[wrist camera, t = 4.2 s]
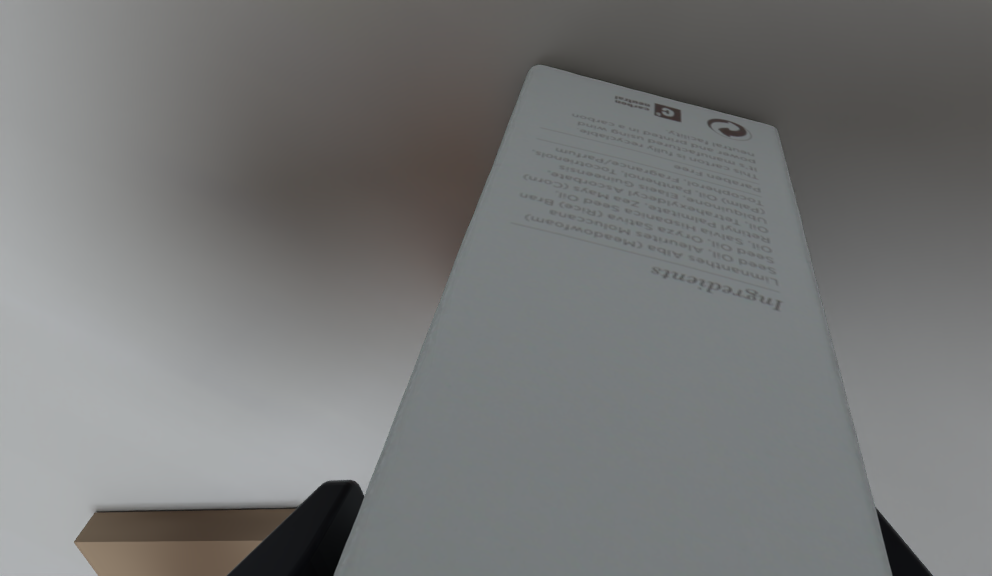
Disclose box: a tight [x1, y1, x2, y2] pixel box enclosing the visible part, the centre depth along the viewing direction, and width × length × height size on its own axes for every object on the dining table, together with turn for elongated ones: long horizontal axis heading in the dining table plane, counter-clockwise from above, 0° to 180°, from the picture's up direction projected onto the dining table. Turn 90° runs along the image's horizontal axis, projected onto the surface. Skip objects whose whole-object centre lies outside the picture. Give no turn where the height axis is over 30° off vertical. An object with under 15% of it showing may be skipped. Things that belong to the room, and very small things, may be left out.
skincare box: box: [334, 65, 892, 576], centre depth 10 cm, size 6×4×12 cm
